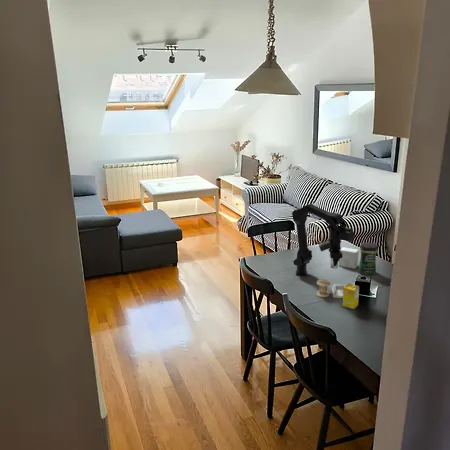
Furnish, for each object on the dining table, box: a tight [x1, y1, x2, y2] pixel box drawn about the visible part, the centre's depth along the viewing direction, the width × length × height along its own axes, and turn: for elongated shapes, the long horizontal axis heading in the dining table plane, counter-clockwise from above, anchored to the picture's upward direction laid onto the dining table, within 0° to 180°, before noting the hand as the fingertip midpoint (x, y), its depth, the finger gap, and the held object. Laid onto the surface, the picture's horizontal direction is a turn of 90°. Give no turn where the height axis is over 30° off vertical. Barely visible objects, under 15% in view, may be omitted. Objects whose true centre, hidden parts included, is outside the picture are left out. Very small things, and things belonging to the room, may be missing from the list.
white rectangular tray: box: [331, 283, 347, 299], centre depth 227 cm, size 10×12×3 cm
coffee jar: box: [358, 242, 378, 276], centre depth 249 cm, size 10×8×19 cm
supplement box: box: [342, 282, 360, 311], centre depth 212 cm, size 6×6×11 cm
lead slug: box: [329, 258, 339, 270], centre depth 232 cm, size 4×4×7 cm
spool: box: [316, 278, 331, 298], centre depth 227 cm, size 7×7×7 cm
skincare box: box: [338, 246, 360, 270], centre depth 261 cm, size 10×6×10 cm, turn 56°
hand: (334, 264), depth 233 cm, fingers closed on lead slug, 4 cm apart
